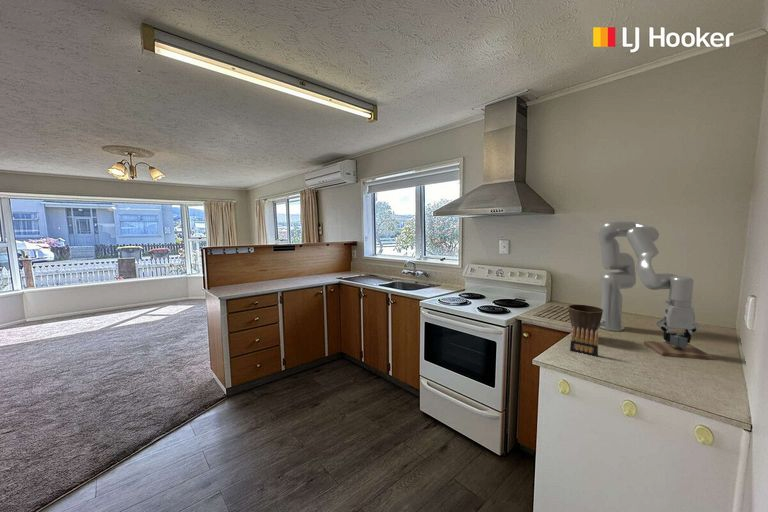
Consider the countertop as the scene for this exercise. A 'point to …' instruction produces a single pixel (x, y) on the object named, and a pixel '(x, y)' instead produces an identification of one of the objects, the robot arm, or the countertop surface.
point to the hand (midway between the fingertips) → (676, 340)
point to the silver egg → (676, 346)
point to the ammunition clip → (585, 345)
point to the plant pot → (585, 318)
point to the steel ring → (678, 340)
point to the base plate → (686, 351)
